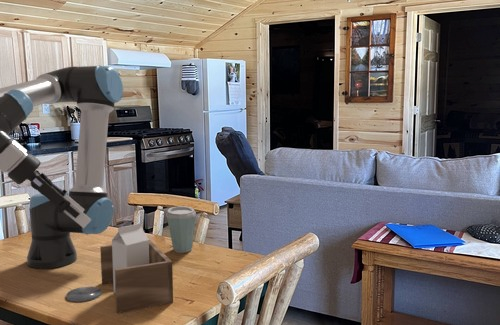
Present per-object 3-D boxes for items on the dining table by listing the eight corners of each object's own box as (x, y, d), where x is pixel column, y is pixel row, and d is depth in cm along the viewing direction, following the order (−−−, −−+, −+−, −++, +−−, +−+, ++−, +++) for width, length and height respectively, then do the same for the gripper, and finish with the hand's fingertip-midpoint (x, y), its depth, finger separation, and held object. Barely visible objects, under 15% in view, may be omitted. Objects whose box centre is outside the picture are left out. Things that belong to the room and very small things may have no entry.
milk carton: (150, 292, 131) (148, 225, 128) (128, 300, 126) (125, 230, 123) (135, 285, 136) (133, 221, 133) (113, 293, 130) (111, 225, 128)
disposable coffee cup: (202, 251, 167) (201, 210, 165) (173, 257, 161) (172, 213, 159) (189, 244, 176) (188, 204, 174) (161, 248, 170) (160, 207, 168)
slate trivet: (64, 292, 131) (64, 290, 131) (98, 286, 135) (98, 284, 135) (68, 304, 123) (68, 302, 123) (104, 298, 127) (104, 295, 127)
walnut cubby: (101, 282, 138) (100, 246, 136) (150, 274, 144) (149, 239, 143) (117, 313, 118) (115, 270, 116) (173, 302, 124) (172, 261, 123)
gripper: (6, 169, 125) (69, 219, 133) (4, 181, 103) (79, 241, 111) (28, 148, 127) (88, 199, 135) (30, 156, 105) (102, 216, 113)
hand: (84, 218), depth 123 cm, fingers open, 13 cm apart
